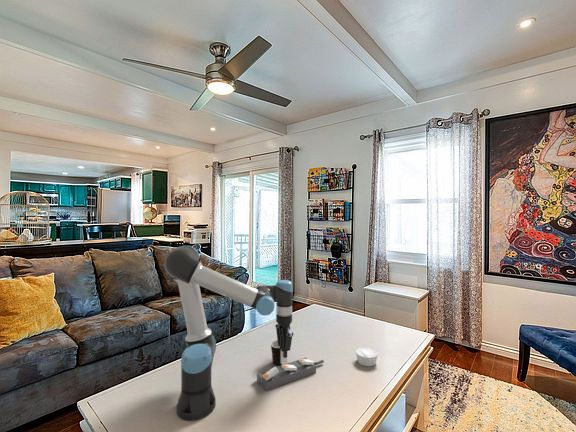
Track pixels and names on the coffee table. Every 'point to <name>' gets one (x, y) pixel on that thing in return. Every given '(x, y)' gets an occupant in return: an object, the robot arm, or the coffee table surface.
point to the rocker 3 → (306, 361)
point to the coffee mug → (276, 353)
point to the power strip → (287, 374)
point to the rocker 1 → (270, 373)
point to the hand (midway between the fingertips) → (283, 363)
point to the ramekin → (366, 356)
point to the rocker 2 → (289, 367)
